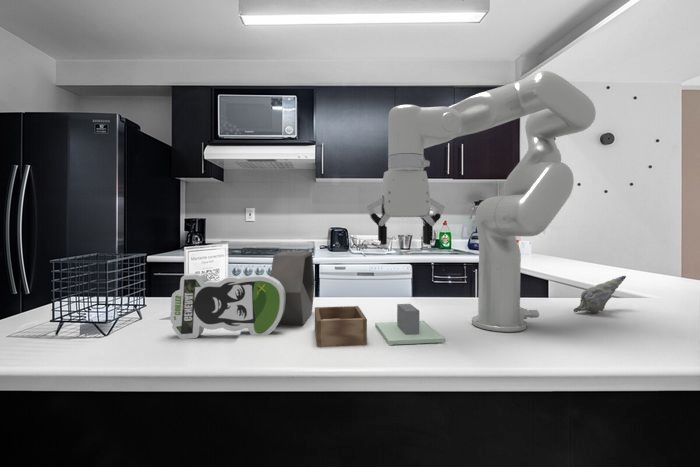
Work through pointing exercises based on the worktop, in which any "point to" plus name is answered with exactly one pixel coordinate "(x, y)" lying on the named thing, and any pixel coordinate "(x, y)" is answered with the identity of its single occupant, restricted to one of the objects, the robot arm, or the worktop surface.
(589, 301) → the seashell
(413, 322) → the lid
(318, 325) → the wooden box
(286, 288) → the planter
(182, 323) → the cutout
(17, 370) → the worktop surface
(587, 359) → the worktop surface
